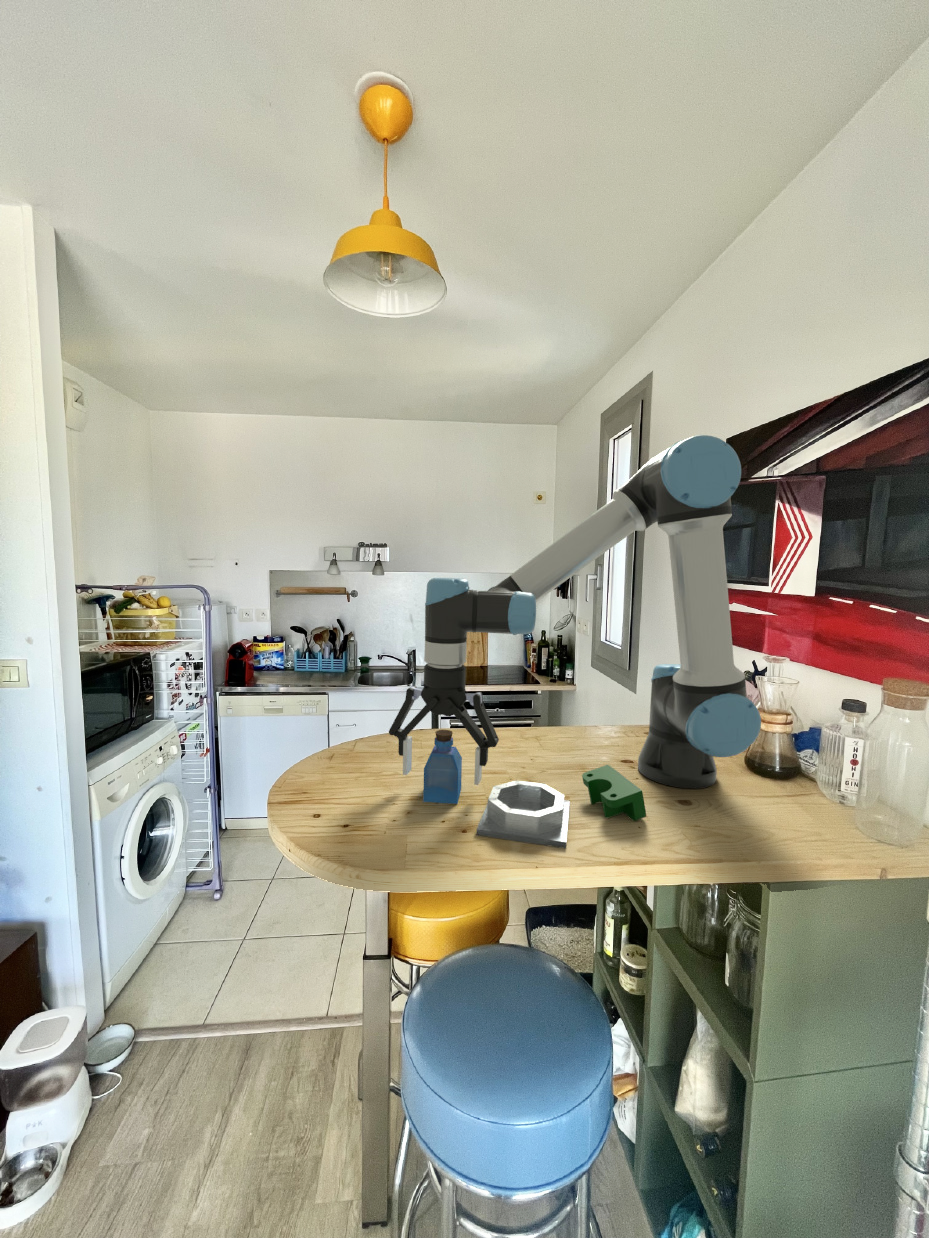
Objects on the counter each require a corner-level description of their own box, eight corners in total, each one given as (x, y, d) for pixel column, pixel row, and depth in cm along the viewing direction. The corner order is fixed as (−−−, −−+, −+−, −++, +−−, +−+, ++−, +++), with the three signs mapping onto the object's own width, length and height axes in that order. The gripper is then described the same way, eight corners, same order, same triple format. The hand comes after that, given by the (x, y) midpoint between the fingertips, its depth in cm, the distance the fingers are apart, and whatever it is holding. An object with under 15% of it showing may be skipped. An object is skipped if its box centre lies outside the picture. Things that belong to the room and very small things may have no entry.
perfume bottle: (461, 788, 98) (462, 727, 97) (457, 804, 92) (458, 739, 91) (429, 786, 99) (430, 726, 97) (423, 801, 93) (424, 737, 91)
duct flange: (569, 806, 92) (570, 784, 91) (566, 848, 78) (567, 823, 78) (492, 796, 95) (493, 775, 95) (476, 834, 82) (477, 811, 81)
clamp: (593, 823, 95) (576, 774, 97) (621, 812, 96) (604, 764, 98) (620, 831, 84) (600, 775, 86) (652, 818, 85) (632, 764, 87)
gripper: (516, 665, 93) (511, 777, 96) (388, 655, 99) (386, 760, 101) (510, 674, 86) (505, 794, 88) (372, 662, 92) (370, 776, 94)
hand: (441, 777), depth 95 cm, fingers open, 13 cm apart
